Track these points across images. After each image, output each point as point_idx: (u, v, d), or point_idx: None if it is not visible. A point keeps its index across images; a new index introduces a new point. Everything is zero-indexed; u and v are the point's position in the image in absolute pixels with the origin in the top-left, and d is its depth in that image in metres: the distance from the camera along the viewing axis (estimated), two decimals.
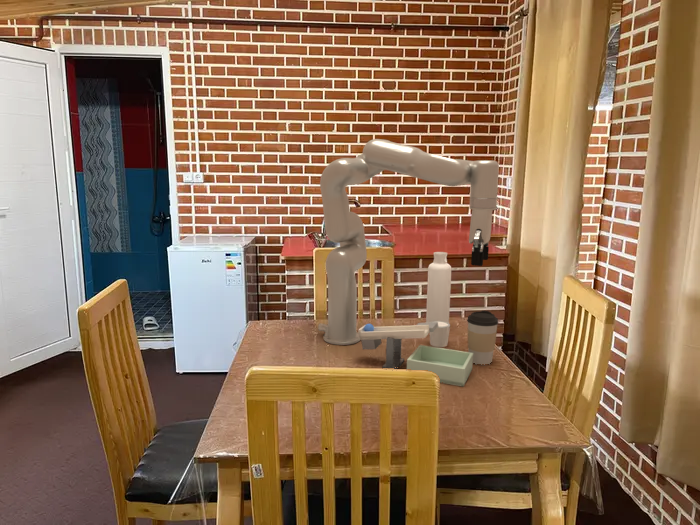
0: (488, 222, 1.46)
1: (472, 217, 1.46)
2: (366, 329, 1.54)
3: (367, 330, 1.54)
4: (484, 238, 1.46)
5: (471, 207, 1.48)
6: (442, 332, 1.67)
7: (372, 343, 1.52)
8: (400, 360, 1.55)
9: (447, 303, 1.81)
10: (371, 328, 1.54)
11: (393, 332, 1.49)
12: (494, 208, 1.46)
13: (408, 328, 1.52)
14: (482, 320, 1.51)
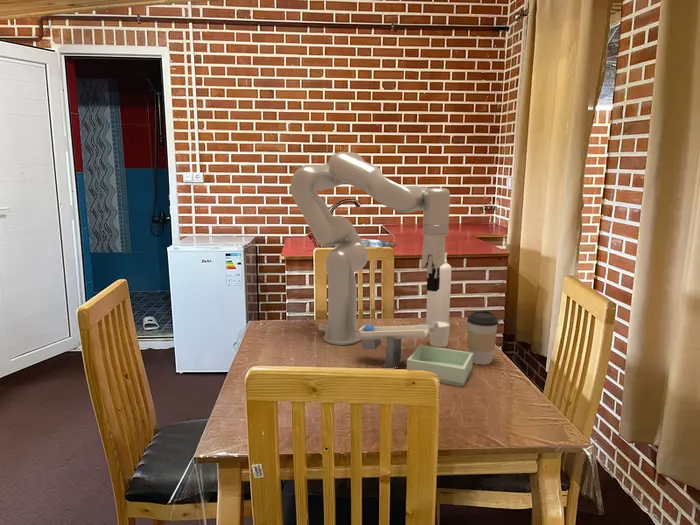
0: (439, 248, 1.51)
1: (424, 243, 1.51)
2: (366, 329, 1.54)
3: (367, 330, 1.54)
4: (435, 263, 1.51)
5: (424, 233, 1.53)
6: (442, 332, 1.67)
7: (372, 343, 1.52)
8: (400, 360, 1.55)
9: (447, 303, 1.81)
10: (371, 328, 1.54)
11: (393, 332, 1.49)
12: (445, 234, 1.51)
13: (408, 328, 1.52)
14: (482, 320, 1.51)
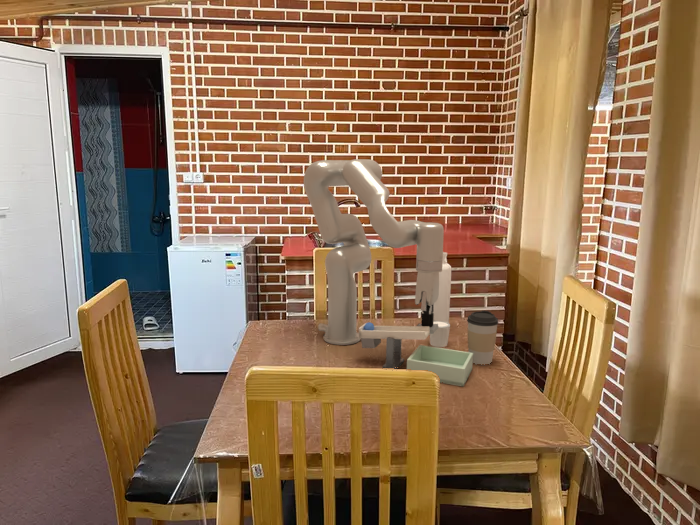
0: (433, 284, 1.48)
1: (417, 279, 1.48)
2: (366, 328, 1.54)
3: (367, 329, 1.53)
4: (429, 300, 1.47)
5: (417, 269, 1.49)
6: (442, 332, 1.67)
7: (372, 342, 1.52)
8: (400, 360, 1.55)
9: (447, 303, 1.81)
10: (371, 327, 1.54)
11: (393, 332, 1.49)
12: (439, 270, 1.48)
13: (408, 329, 1.52)
14: (482, 320, 1.51)
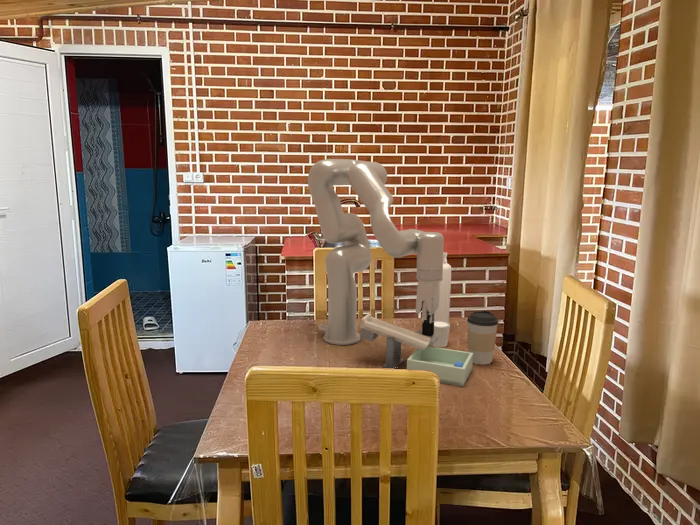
0: (434, 294, 1.48)
1: (418, 289, 1.48)
2: None
3: None
4: (430, 310, 1.47)
5: (417, 278, 1.50)
6: (442, 332, 1.67)
7: (371, 336, 1.52)
8: (400, 360, 1.55)
9: (447, 303, 1.81)
10: None
11: (395, 334, 1.49)
12: (440, 280, 1.48)
13: (410, 333, 1.52)
14: (482, 320, 1.51)
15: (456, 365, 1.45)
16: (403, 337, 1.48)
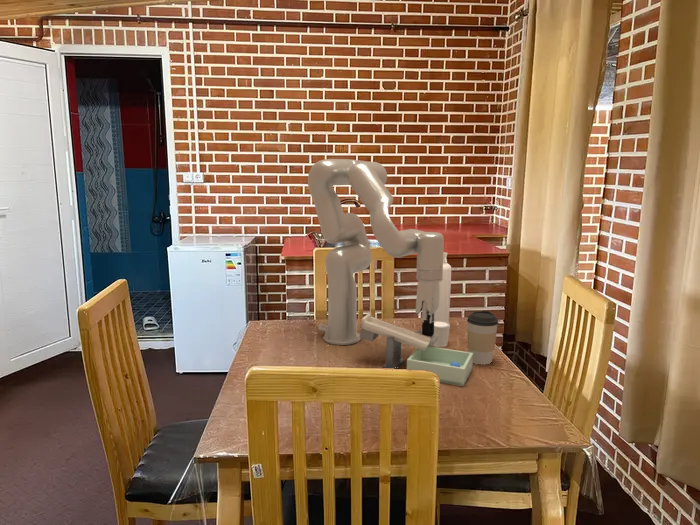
0: (434, 294, 1.48)
1: (418, 289, 1.48)
2: None
3: None
4: (430, 310, 1.47)
5: (417, 278, 1.50)
6: (442, 331, 1.67)
7: (371, 336, 1.52)
8: (400, 360, 1.55)
9: (447, 303, 1.81)
10: None
11: (395, 334, 1.49)
12: (440, 280, 1.48)
13: (410, 333, 1.52)
14: (482, 320, 1.51)
15: None
16: (403, 337, 1.48)
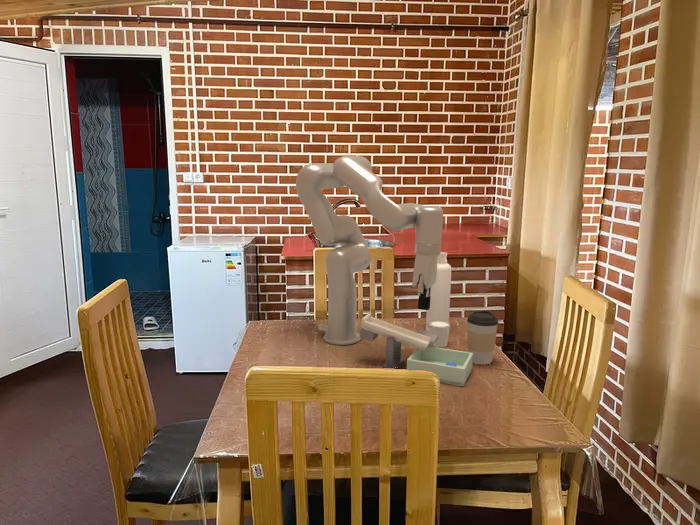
0: (431, 267, 1.48)
1: (415, 262, 1.48)
2: None
3: None
4: (426, 283, 1.48)
5: (415, 252, 1.50)
6: (442, 332, 1.67)
7: (371, 336, 1.52)
8: (400, 360, 1.55)
9: (447, 303, 1.81)
10: (452, 364, 1.46)
11: (395, 334, 1.49)
12: (437, 254, 1.49)
13: (410, 333, 1.52)
14: (482, 320, 1.51)
15: None
16: (403, 337, 1.48)
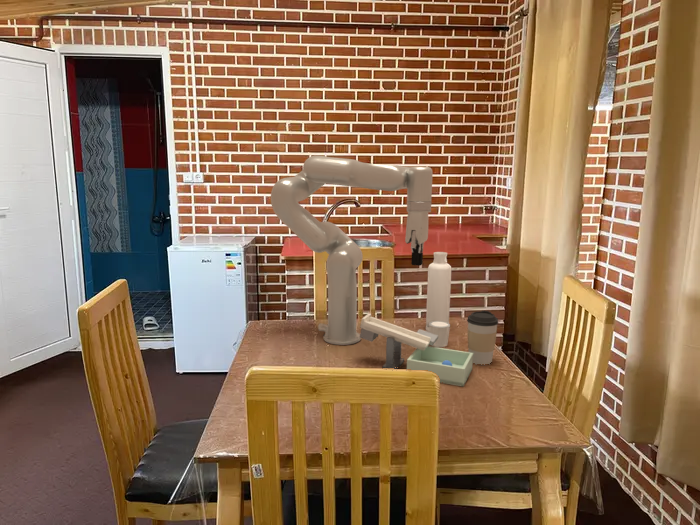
0: (422, 224, 1.58)
1: (408, 219, 1.58)
2: None
3: None
4: (418, 238, 1.57)
5: (407, 210, 1.60)
6: (442, 331, 1.67)
7: (371, 336, 1.52)
8: (400, 360, 1.55)
9: (447, 303, 1.81)
10: (445, 362, 1.46)
11: (395, 334, 1.49)
12: (428, 211, 1.58)
13: (410, 333, 1.52)
14: (482, 320, 1.51)
15: None
16: (403, 337, 1.48)
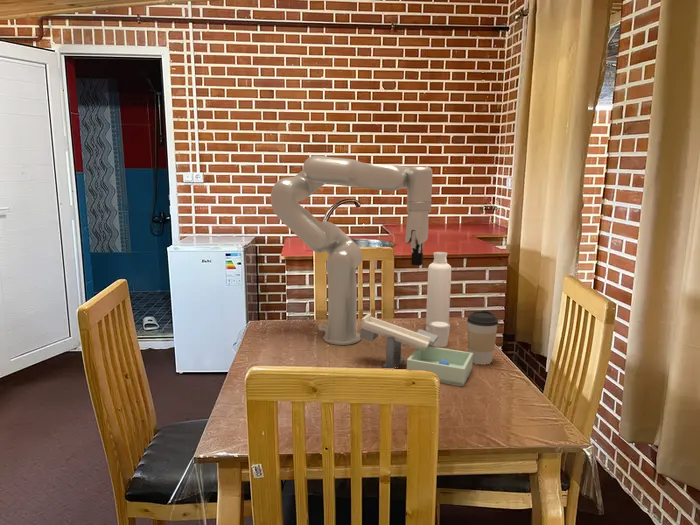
0: (422, 224, 1.58)
1: (408, 219, 1.58)
2: None
3: None
4: (418, 238, 1.57)
5: (407, 210, 1.60)
6: (442, 331, 1.67)
7: (371, 336, 1.52)
8: (400, 360, 1.55)
9: (447, 303, 1.81)
10: (440, 363, 1.47)
11: (395, 334, 1.49)
12: (428, 211, 1.58)
13: (410, 333, 1.52)
14: (482, 320, 1.51)
15: None
16: (403, 337, 1.48)
